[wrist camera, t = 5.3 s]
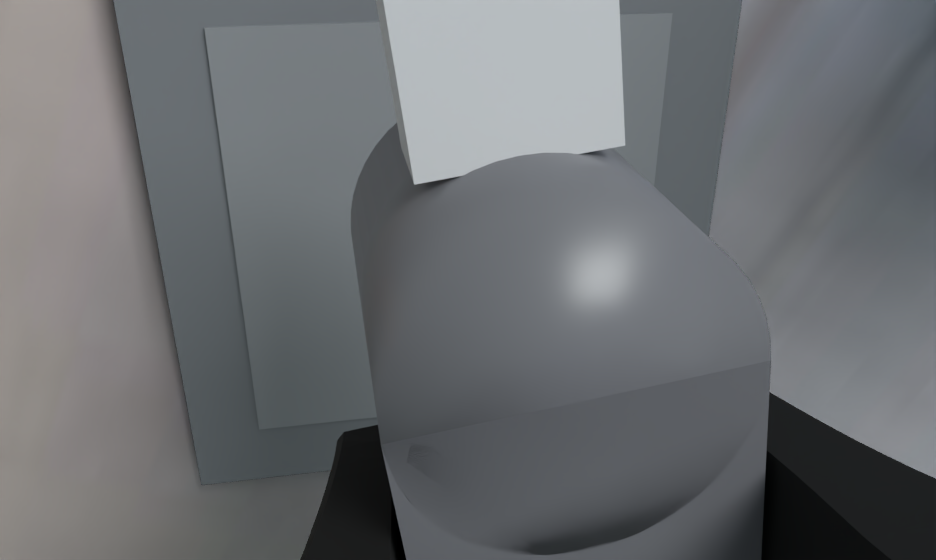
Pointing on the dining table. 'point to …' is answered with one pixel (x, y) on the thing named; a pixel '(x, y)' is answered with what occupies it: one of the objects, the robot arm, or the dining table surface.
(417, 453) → the plug
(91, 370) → the dining table surface
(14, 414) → the dining table surface
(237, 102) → the coaster
